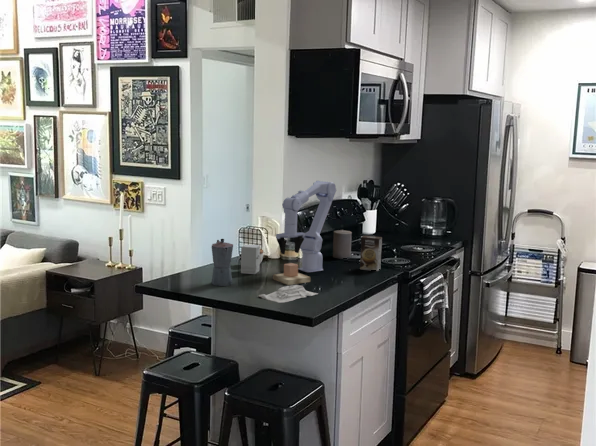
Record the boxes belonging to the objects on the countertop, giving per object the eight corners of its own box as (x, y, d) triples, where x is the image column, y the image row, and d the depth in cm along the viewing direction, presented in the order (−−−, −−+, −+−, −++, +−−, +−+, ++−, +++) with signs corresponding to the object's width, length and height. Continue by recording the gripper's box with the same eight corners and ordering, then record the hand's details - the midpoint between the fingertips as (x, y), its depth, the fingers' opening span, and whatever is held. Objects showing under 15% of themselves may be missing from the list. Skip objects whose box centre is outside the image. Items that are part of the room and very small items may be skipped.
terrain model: (255, 302, 247) (255, 290, 246) (287, 288, 266) (287, 277, 265) (289, 309, 238) (289, 296, 237) (320, 294, 257) (320, 282, 256)
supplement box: (255, 274, 287) (256, 247, 285) (240, 273, 288) (240, 246, 286) (259, 271, 294) (260, 244, 292) (244, 270, 295) (245, 243, 293)
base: (295, 276, 285) (295, 271, 285) (310, 281, 275) (310, 277, 275) (273, 279, 278) (273, 274, 278) (287, 285, 269) (287, 280, 268)
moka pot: (216, 288, 259) (217, 241, 256) (204, 280, 273) (204, 235, 270) (238, 286, 264) (238, 240, 261) (225, 278, 277) (225, 234, 274)
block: (291, 273, 280) (291, 263, 279) (297, 275, 277) (298, 264, 276) (283, 275, 277) (283, 264, 277) (289, 277, 274) (290, 266, 273)
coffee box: (359, 269, 303) (360, 236, 300) (363, 266, 309) (364, 235, 306) (377, 271, 299) (379, 238, 297) (380, 268, 305) (382, 236, 303)
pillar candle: (328, 256, 332) (329, 228, 330) (341, 254, 339) (342, 227, 336) (342, 259, 325) (343, 231, 323) (354, 257, 332) (355, 229, 329)
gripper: (298, 222, 291) (297, 250, 292) (272, 223, 282) (271, 252, 284) (307, 224, 285) (306, 253, 287) (281, 225, 277) (280, 255, 279)
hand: (289, 253), depth 285 cm, fingers open, 7 cm apart
